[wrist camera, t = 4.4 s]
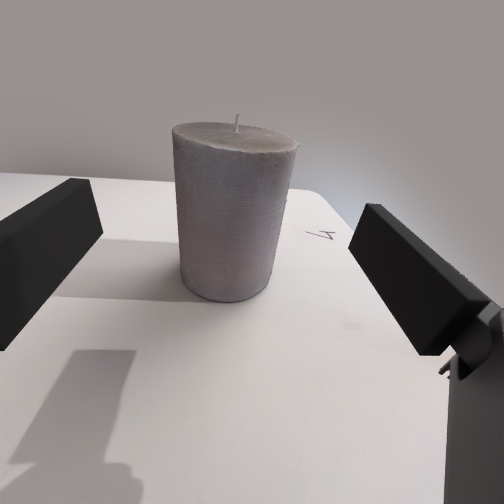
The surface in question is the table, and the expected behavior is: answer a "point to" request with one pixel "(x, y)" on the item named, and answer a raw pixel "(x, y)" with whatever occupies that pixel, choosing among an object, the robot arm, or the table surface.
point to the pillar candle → (229, 205)
